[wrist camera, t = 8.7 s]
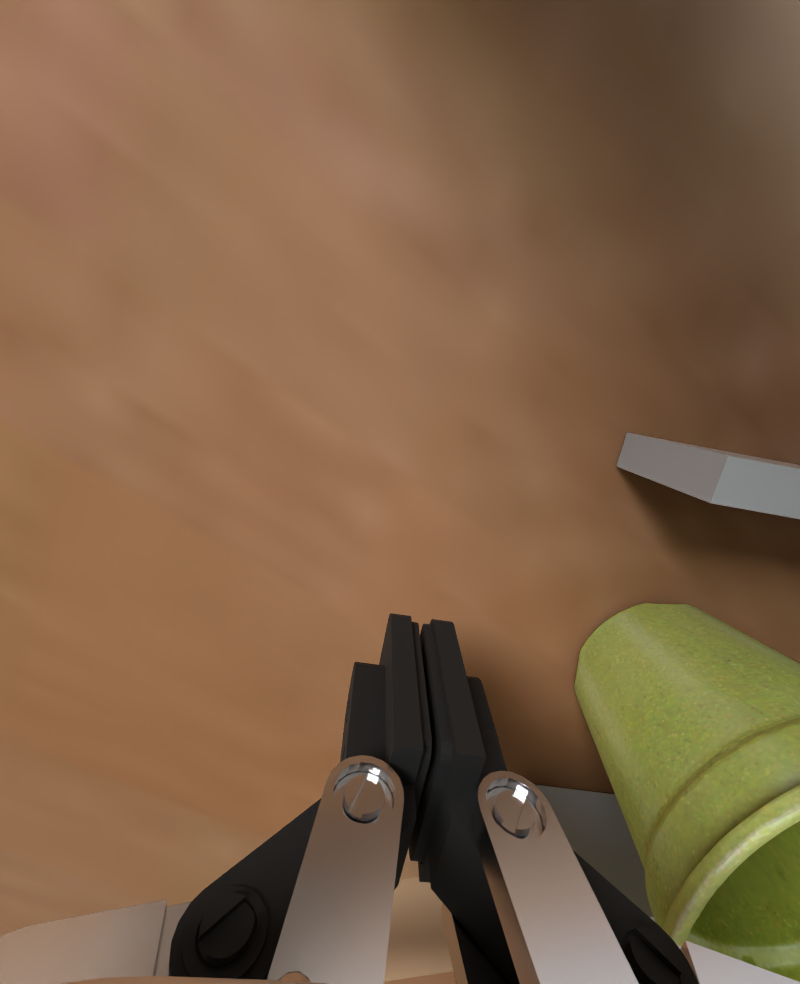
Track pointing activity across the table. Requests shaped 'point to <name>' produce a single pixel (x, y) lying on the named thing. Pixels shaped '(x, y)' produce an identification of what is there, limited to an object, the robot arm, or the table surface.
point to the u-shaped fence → (715, 480)
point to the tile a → (416, 929)
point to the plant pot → (703, 774)
